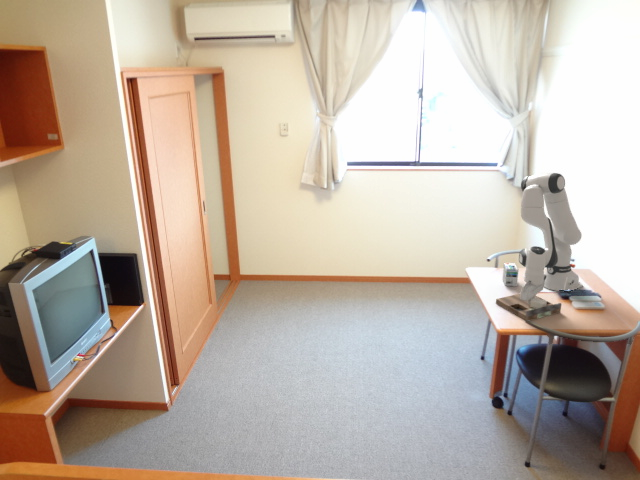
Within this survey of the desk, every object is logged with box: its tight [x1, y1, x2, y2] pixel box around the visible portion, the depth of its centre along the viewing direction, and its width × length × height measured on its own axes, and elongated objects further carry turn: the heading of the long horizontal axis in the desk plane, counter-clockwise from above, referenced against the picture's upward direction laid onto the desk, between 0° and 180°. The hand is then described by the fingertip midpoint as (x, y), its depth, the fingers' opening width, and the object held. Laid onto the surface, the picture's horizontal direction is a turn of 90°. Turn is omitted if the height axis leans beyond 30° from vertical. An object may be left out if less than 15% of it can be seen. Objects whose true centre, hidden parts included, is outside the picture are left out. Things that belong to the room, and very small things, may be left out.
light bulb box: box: [502, 262, 519, 287], centre depth 277 cm, size 11×7×11 cm, turn 168°
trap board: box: [495, 292, 562, 321], centre depth 247 cm, size 22×22×5 cm
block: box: [530, 298, 547, 309], centre depth 243 cm, size 5×6×4 cm
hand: (530, 302), depth 245 cm, fingers closed, pressing on block
